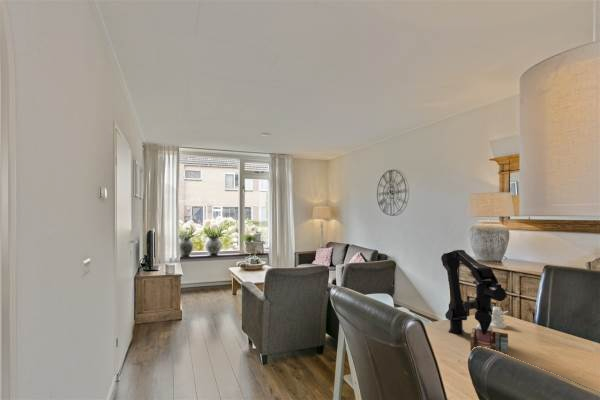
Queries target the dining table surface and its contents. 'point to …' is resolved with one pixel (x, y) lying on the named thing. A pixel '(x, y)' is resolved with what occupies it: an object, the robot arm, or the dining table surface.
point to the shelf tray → (498, 341)
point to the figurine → (497, 318)
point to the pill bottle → (485, 337)
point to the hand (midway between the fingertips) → (484, 331)
